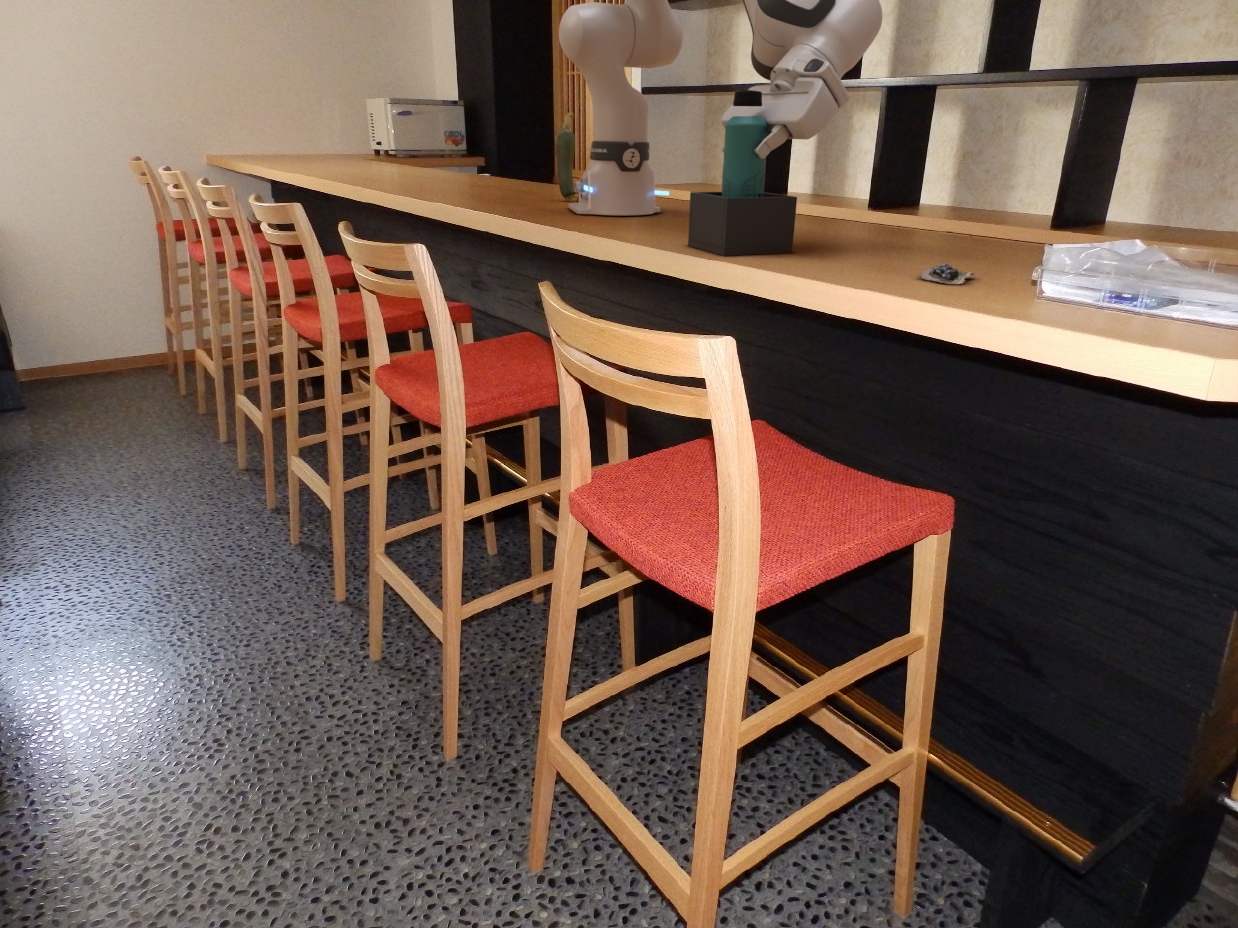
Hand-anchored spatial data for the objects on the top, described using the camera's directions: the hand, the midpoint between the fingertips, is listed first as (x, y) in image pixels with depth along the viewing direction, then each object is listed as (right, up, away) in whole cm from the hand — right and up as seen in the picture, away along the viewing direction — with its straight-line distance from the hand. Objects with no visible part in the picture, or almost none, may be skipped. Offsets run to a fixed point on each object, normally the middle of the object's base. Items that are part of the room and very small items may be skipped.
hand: (741, 154), depth 123 cm
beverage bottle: (0, -11, +5) cm, 12 cm away
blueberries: (+23, -22, -18) cm, 37 cm away
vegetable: (-31, +18, +81) cm, 88 cm away
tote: (0, -13, +5) cm, 14 cm away
